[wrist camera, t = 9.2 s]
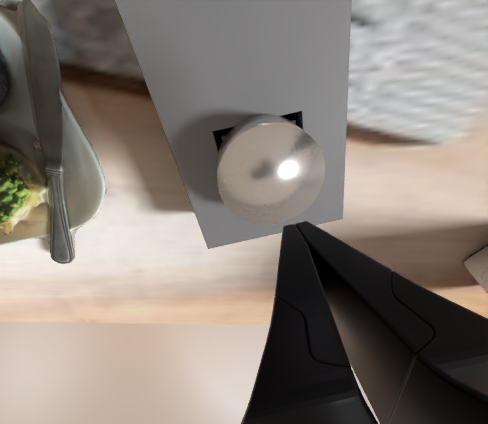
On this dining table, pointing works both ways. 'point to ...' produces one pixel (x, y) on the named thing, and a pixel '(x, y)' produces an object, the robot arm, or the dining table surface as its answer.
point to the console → (244, 88)
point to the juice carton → (479, 267)
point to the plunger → (268, 169)
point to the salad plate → (41, 141)
